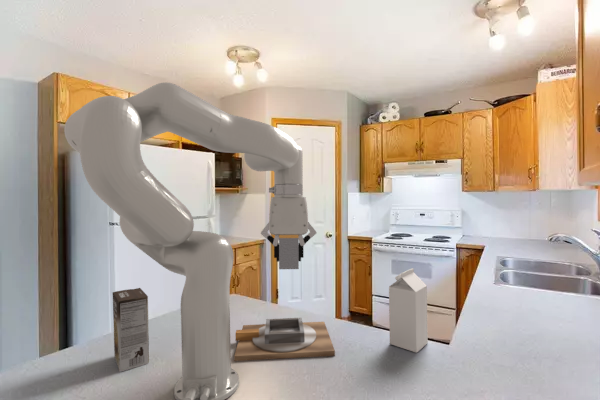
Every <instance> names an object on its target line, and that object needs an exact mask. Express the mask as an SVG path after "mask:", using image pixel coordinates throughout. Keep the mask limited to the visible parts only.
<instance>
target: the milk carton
mask: <svg viewBox="0 0 600 400" xmlns="http://www.w3.org/2000/svg"><path fill="white" fill-rule="evenodd" d="M414 271H415V269H414V267H413V268H409V269H407V270H406V271H404V272H403V271H402V272H401V273H399V274H398V275H396V276H395V278H394V279H395V280H396V281H394V282H393V283H392V284H391V285H389V287H388V309H389V310H388V311H389V313H388V314H389V315H388V317H389V322H388V323H389V344H390V345H391V346H395V347H396V348H397V347H398V348H401V349H405V350H408V351H410V352H413V353H418V352H420V351H421V350H422V349H423V348H424V347H425V346H426V345H427V344H428V341H429V339H428V334H429V333H428V288H427V286H428V285H427V284H426V283H425V282H424V281H423V280H422V279H421V278H420V277H419V276H418V275H417V274H416V273H415V272H414Z"/></svg>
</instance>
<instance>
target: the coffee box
mask: <svg viewBox="0 0 600 400" xmlns="http://www.w3.org/2000/svg"><path fill="white" fill-rule="evenodd" d="M112 315H113V316H112V317H113V345H114V346H113V348H114V351H113V352H114V360H115V362H116V364H117V365H116V366H117V367H118V371H119V373H122V372H124V371H125V372H126V371H127V370H132V369H135V368H138V367H141V366H145V365H148V364H149V363H150V356H149V355H150V352H149V351H150V350H149V349H150V348H149V345H150V341H149V338H150V337H149V335H150V334H149V333H150V332H149V331H150V330H149V329H150V328H149V296H148V295H147V294H146V293H145V292H144V290H143V289H142V288H141V287H136V288H133V289H124V290H117V291H113V292H112Z"/></svg>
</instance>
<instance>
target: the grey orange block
mask: <svg viewBox="0 0 600 400" xmlns="http://www.w3.org/2000/svg"><path fill="white" fill-rule="evenodd" d="M278 243H279V262H278V267H279V268H278V269H279V270H299V266H300V265H299V264H300V263H299V262H300V261H299V237H298V235H279V241H278Z"/></svg>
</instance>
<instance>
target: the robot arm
mask: <svg viewBox="0 0 600 400" xmlns="http://www.w3.org/2000/svg"><path fill="white" fill-rule="evenodd" d="M164 133H170V134H173V135H176V136H179V137H181V138H184V139H185V140H188V141H190V142H193V143H195V144H197V145H199V146H202V147H204V148H207V149H209V150H211V151H215V152H220V153H228V154H229V153H230V154H244V157H243V159H244V162H245V164H246V165H247V167H249V168H250V169H251V170H253V171H256V172H273V173H274V175H273V176H274V180H273V181H274V182H273V183H274V185H273V186H272V187H268V193H269V194H270V193H271V194H274V196H272V197H271V198H270V203H269V214H268V215H269V218H268V219H269V221H268V223H267V224H266V225H265V226H264V228H263V229H262V230H261V231H260V234H261V236H263V237H264V238H265V239H267V241H268V242H269V243H271V245H272V246H273V258H274V259H276V262H278V263H279V235H298V237H299V262H301V261H302V259H303V258H304V246H305V245H306V243H307V242H309V240H311V239H312V238H313V237H314V236H315V235H317V231H316V230H315V228H314V227H313V226H312V224H311V223H310V222H309V214H308V213H309V211H308V203H307V202H308V201H307V199H306V198H307V197H305V196H304V195H303V194H304V192H303V191H304V189H303V179H304V178H303V149H302V147H301V146H300V145H298V144H297V143H296V142H295V140H294V139H293V138H292V137H291V136H289V134H287V133H286V132H283V131H282V130H280V129H279V128H277V127H275V126H274V125H271V124H268V123H265V122H261V121H258V120H254V119H250V118H247V117H243V116H238V115H234V114H230V113H229V112H226V111H224V110H222V109H221V108H220V107H217V106H215V105H213V104H212V103H210V102H208V101H206V100H204V99H203V98H201V97H200V96H198V95H196V94H194V93H192V92H190V91H189V90H187V89H185V88H183V87H181V86H180V85H177V84H175V83H173V82H172V83H171V82H168V81H167V82H159V83H157V84H154V85H152V86H150V87H148V88H146V89H144V90H143V91H141V92H139V93H137V94H135V95H134V94H133V95H132V96H129V97H127V98H122V97H119V96H114V95H104V96H100V97H97V98H94V99H93V100H90V101H89V102H87V103H86V104H84V105H83V106H81V107H80V108H79V109H77V110H76V111H75V112H73V113H72V114H71V115H70V116H69V117H68V118H67V119H66V121H65V124H64V136H65V139H66V142H67V143H68V145H70V147H71V149H73V150H74V151H76V152H77V153H78V154H79V156H80V163H81V167H82V170H83V174H84V177H85V179H86V181H87V183H88V185H89V187H90V188H91V189H92V191H93V192H94V194H96V196H98V198H100V200H101V201H103V202H104V203H105V204H106V205H107V206H108V207H110V208H111V210H113V212H114V213H116V214H117V215H118V216H119V226H120V230H121V232H122V234H123V235H124V237H125V238H126V239H127V240H128V241H129V242H130V243H132V244H133V245H134V247H137V248H138V250H140V251H141V252H142V253H144V254H145V255H147V256H148V257H149V258H151V259H152V260H153V261H155V262H156V263H157V264H159V265H160V266H161V267H163V268H165V269H167V270H168V271H169V272H171V273H174V274H177V275H181V276H185V282H184V286H183V289H182V292H181V295H180V296H181V297H180V324H181V325H180V326H181V328H180V329H181V330H180V333H181V338H180V339H181V373H182V374H181V375H182V376H181V377H180V378H179V380H177V382H176V383H175V384H174V387H173V394H174V395H173V396H174V398H175V400H226V399H228V398H230V397H231V396H232V395H233V394H234V393H235V392H236V391H237V389H238V388H239V384H240V377H239V374H238V372H237V371H236V370H235V369H233V368H232V360H231V359H232V358H231V357H232V353H231V352H232V350H231V348H232V347H231V344H232V343H231V308H230V304H231V303H230V301H231V300H230V294H231V293H230V289H231V287H230V285H231V277H232V272H233V268H234V267H233V266H234V250H233V247H232V245H231V243H230V241H228V240H227V238H225V237H224V236H222V235H220V234H218V233H214V232H212V231H211V232H210V231H202V230H201V231H200V230H194V227H195V226H194V225H195V222H194V218H193V216H192V213H191V211H190V210H189V209H188V208H187V207H186V205H185V204H184V203H182V201H180V199H178V198H177V197H176V196H175V195H174V194H173V193H172V192H171V191H170V190H169V189H168V188H166V187H165V186H164V185H163V184H162V183H161V182H160V180H158V179H157V178H156V177H155V175H154V174H153V173H152V172H151V171H150V169H148V167H147V166H146V164H145V162H144V161H143V157H142V152H141V143H142V142H144V141H147V140H148V139H151V138H154V137H157V136H158V135H161V134H162V135H163V134H164ZM308 231H309V233H308ZM272 235H273V236H272ZM303 235H305V236H304V237H303Z"/></svg>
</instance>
